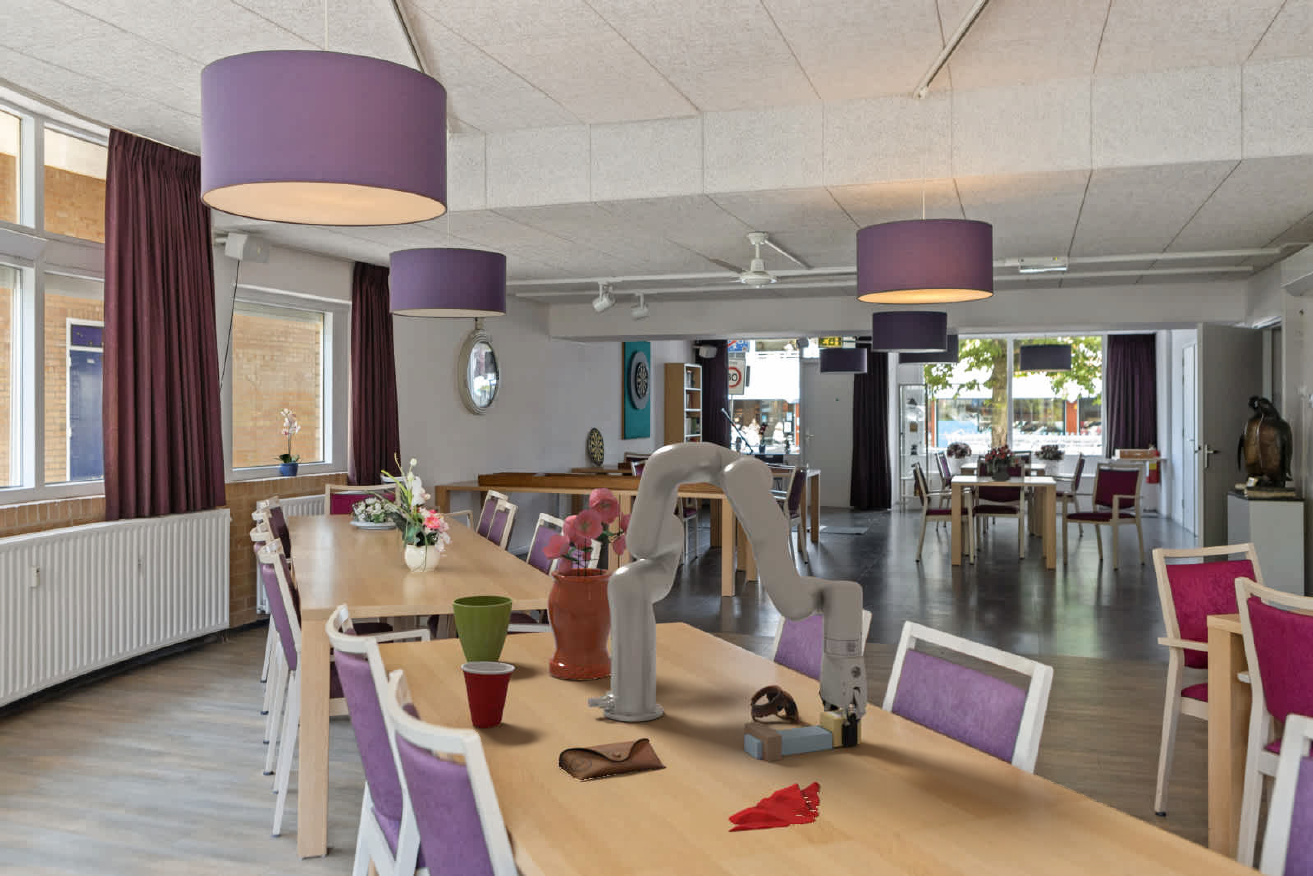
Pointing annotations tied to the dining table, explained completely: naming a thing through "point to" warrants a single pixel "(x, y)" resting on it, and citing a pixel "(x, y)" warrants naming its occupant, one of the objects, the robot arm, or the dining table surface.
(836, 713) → the stub
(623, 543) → the potted flower
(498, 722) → the plastic cup
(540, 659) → the dining table surface
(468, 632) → the flower pot
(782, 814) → the cloth
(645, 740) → the sunglasses case
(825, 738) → the banded blue brick
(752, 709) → the brown looped band
